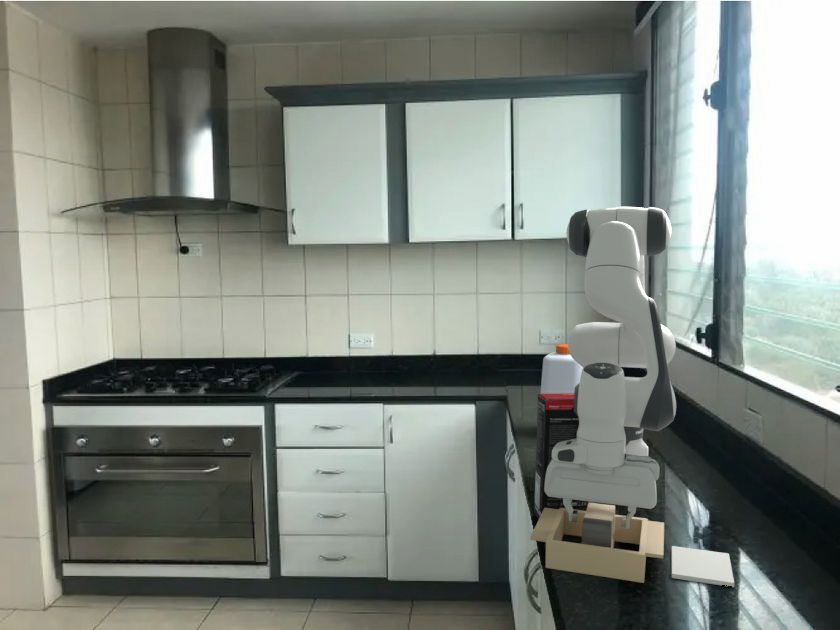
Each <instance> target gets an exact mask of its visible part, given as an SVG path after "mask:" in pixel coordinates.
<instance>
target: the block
mask: <svg viewBox="0 0 840 630" xmlns="http://www.w3.org/2000/svg"><path fill="white" fill-rule="evenodd" d="M614 538H615V505H606V504H598V503H589V504H588V507H587V510H586V513H585V516H584V519H583V522H582V536H581V544H586V545H594V546H601V547H608V548H615V541H614Z"/></svg>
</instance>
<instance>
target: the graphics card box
mask: <svg viewBox="0 0 840 630" xmlns="http://www.w3.org/2000/svg"><path fill="white" fill-rule="evenodd" d="M536 415H537V417H536V450H535V453H536V454H535V477H534V505H533V512H534V515H535V516H536V518H537V519H538V520H539V518H540V516H541V514H542V512H543V510H544V508H551V509H560V508H565V506H564V504H563V498H556V497H549V496H548V495H547V494H546V493H545V491H544V486H545V477H546V471H547V468H548V465H549V463H550V462H551V460H552V450H553V448H554V446H555V445H556V444H557V443H559V442H562V441H567V440H571V439H576V438H577V430H578V427H579V417H578V416H577V415H576V414H575V412H574V393H562V394H540V393H538V394H537V413H536ZM589 503H598V502H590V501H581V500H573V499H572V502H571V506H572V508H573V509H574V510H582V511H586V510H587V507H588V504H589ZM598 504H606V503H598ZM606 505H615V504H606ZM619 506H620V505H615V515H619Z"/></svg>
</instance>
